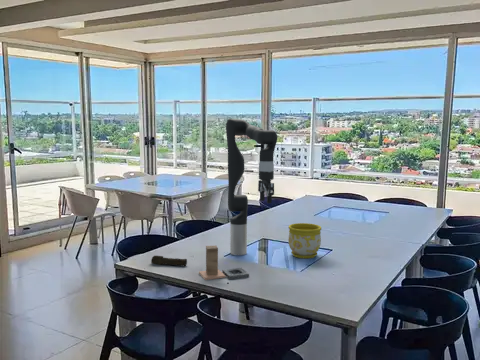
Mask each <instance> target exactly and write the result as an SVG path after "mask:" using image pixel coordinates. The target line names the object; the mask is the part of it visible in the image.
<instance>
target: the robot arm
mask: <svg viewBox="0 0 480 360" xmlns="http://www.w3.org/2000/svg"><path fill="white" fill-rule="evenodd" d="M225 133H226V134H225V135H226V143H227V144H226V145H227V176H228V177H227V178H228V181H227V182H228V188H227V189H228V192H227V208H228V210H229V212H240V213H239V214H237V215H234V216H232V217H231V218H230V237H229V238H230V239H229V240H230V241H229V242H230V243H229V244H230V248H229V249H230V250H229V251H230V254H231V255H232V256H245V255H247V252H248V250H247V249H248V248H247V246H248V243H247V242H248V208H249V207H248V206H249V199H248V196H247V195H246V194H235V190H236V188H237V185H238V183H239V181H240V180H241V178H243V177H242V176H243V175H244V173H245V157H244V156H243V153H242V152H241V150H240V149H239V147H238V144H237V142H236V137H242V136H246V137H247V138H248V139H250V140H252V141H255V142H256V143H257V144H259V145H266V148H265V147H264V148H262V149H260V150H259V163H258V179H259V180H258V183H257V184H258V188H257V189H258V190H257V191H258V192H259V196H260V197H259V200H260V201H262V202H263V201H265V199H266V203H267V204H272V202H273V199H272V198H273V197H272V196H275V183H274V182H272V181H273V180H274V174H275V173H274V171H275V169H274V168H275V164H274V153H275V149H276V145H277V144H278V143H277V142H278V134H277V132H276V131H275V130H273V129H267V130H266V129H265V130H264V129H263V128H262V127H258V126H255V125H252V124H251V123H249V122H247V121H246V120H244V119H242V118H241V119H239V118H228V119H227V121H226V124H225ZM265 193H266V194H265ZM265 195H267V196H265ZM265 197H266V198H265Z"/></svg>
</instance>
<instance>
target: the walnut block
mask: <svg viewBox="0 0 480 360" xmlns="http://www.w3.org/2000/svg"><path fill="white" fill-rule="evenodd" d="M218 269H219V247H218V246H217V245H205V271H206V273H207V275H218Z"/></svg>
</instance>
